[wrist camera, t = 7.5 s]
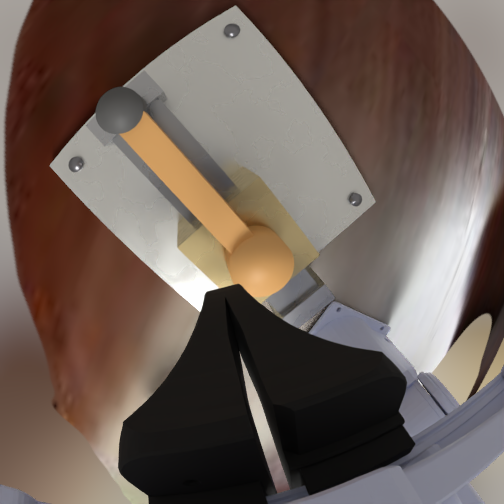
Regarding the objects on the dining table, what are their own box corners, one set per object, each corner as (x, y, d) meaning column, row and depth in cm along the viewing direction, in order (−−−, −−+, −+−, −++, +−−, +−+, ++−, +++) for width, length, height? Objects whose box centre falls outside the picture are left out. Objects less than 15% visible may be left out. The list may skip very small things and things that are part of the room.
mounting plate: (371, 200, 22) (378, 202, 22) (221, 325, 24) (222, 331, 23) (234, 8, 14) (236, 3, 14) (52, 164, 16) (47, 166, 15)
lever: (293, 254, 17) (306, 269, 15) (249, 290, 17) (257, 309, 15) (140, 75, 11) (133, 67, 9) (89, 122, 11) (76, 122, 10)
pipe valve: (320, 265, 23) (348, 294, 19) (266, 309, 24) (284, 346, 20) (162, 74, 15) (156, 57, 11) (96, 134, 16) (71, 137, 12)
